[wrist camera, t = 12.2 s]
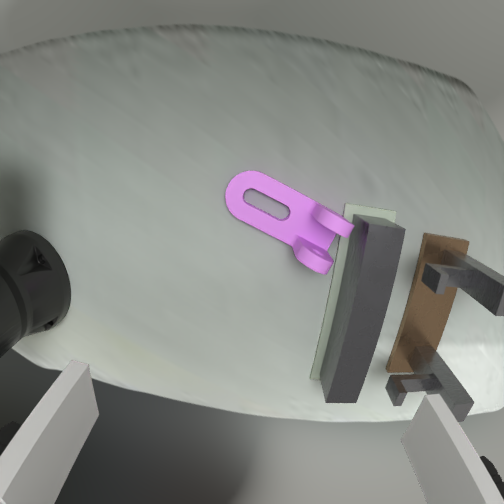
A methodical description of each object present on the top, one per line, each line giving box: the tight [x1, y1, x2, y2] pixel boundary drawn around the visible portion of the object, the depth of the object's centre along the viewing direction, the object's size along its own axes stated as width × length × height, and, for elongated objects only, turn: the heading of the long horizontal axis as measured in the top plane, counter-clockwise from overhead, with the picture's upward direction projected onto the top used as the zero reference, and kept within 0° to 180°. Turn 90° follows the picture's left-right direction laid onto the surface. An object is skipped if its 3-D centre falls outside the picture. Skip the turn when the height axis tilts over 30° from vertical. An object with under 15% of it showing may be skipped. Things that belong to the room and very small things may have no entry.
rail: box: [319, 214, 405, 403], centre depth 35 cm, size 4×22×6 cm, turn 174°
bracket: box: [225, 171, 355, 274], centre depth 33 cm, size 13×6×7 cm, turn 63°
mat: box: [310, 203, 396, 380], centre depth 39 cm, size 6×24×1 cm, turn 174°
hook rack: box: [385, 233, 504, 422], centre depth 32 cm, size 10×20×14 cm, turn 174°
